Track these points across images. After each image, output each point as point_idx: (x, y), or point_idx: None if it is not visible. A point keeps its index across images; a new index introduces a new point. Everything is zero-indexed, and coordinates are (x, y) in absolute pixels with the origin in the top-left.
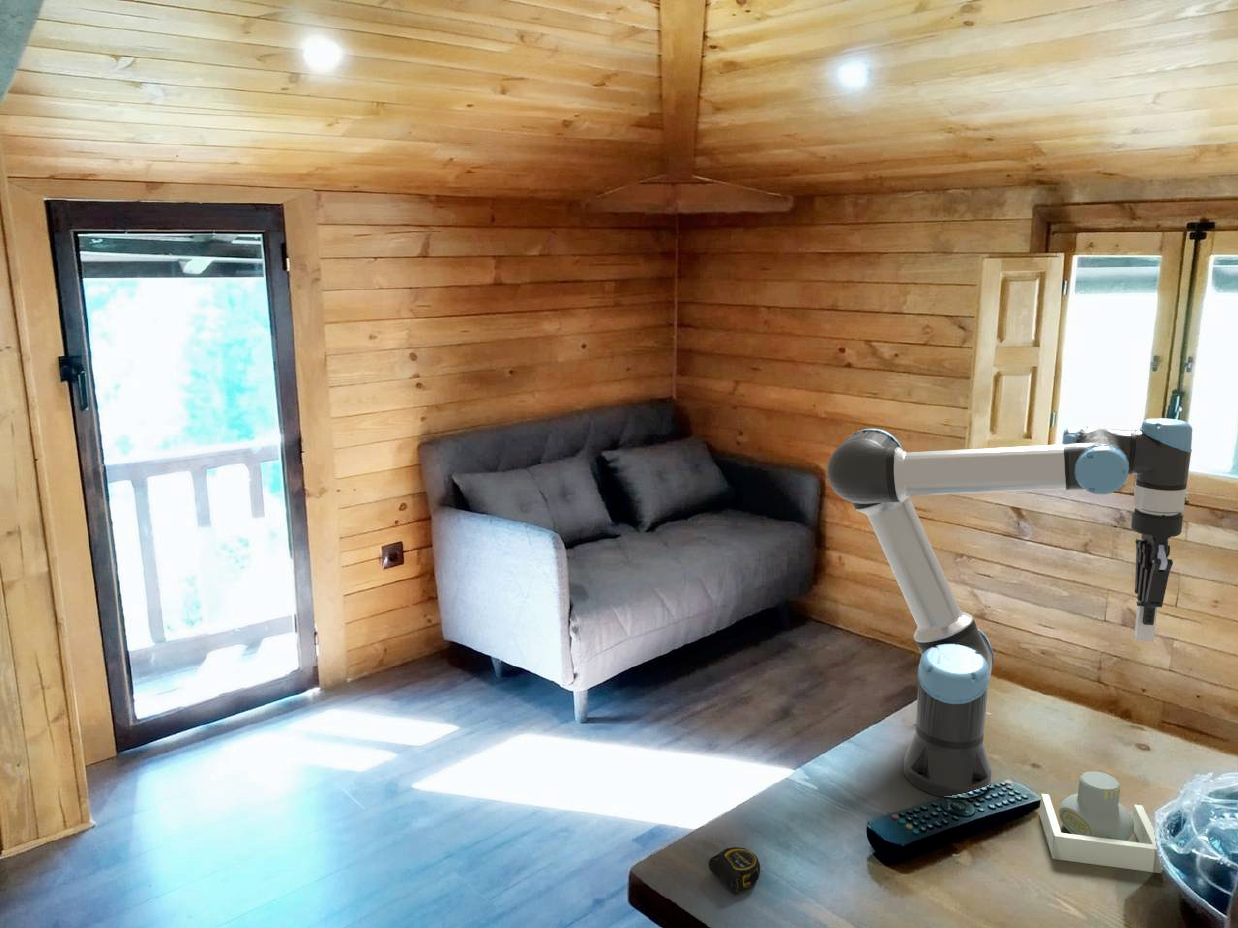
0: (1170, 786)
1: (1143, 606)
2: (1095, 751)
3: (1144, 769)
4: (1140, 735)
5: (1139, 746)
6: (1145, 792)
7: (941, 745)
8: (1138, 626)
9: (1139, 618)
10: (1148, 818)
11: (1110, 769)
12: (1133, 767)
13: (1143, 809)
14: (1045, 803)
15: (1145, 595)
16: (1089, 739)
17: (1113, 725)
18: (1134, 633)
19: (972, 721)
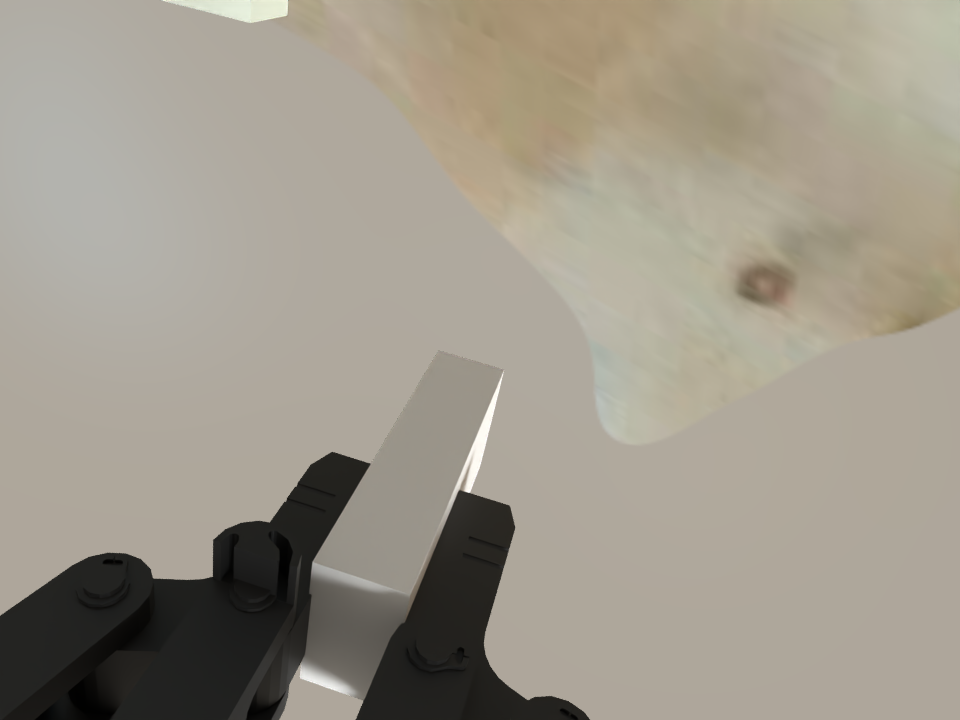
0: (515, 235)
1: (317, 578)
2: (758, 97)
3: (617, 210)
4: (844, 320)
5: (768, 276)
6: (479, 138)
7: None
8: (399, 418)
9: (373, 467)
10: (179, 4)
11: (624, 91)
12: (632, 181)
13: (227, 14)
14: None
15: (144, 681)
16: (854, 118)
17: (942, 267)
18: (495, 384)
19: None
